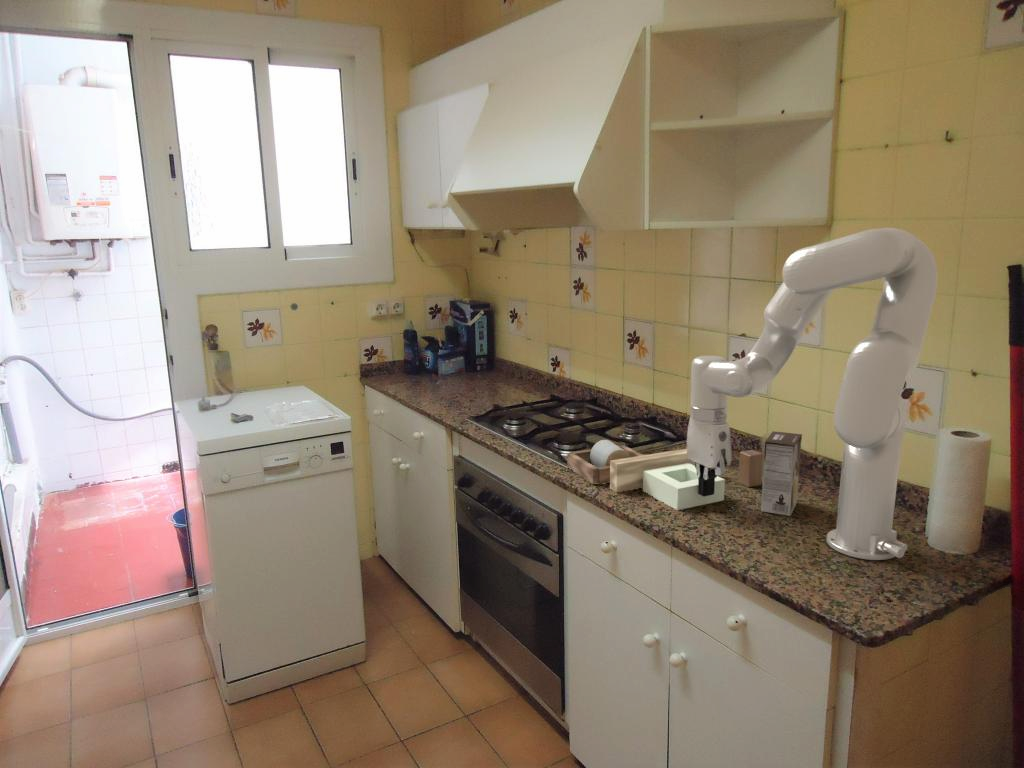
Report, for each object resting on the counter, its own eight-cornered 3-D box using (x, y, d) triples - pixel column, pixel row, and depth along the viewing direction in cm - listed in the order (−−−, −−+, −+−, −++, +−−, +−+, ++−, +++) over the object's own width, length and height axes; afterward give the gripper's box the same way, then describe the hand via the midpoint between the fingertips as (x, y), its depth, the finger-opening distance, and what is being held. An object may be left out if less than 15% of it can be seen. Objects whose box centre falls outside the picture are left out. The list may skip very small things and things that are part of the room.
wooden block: (737, 482, 172) (739, 451, 171) (750, 480, 174) (752, 449, 172) (748, 488, 169) (750, 455, 167) (762, 485, 170) (764, 453, 169)
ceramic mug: (606, 479, 176) (607, 449, 174) (589, 469, 183) (589, 441, 182) (641, 473, 180) (643, 444, 179) (623, 464, 188) (624, 436, 186)
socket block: (723, 500, 162) (724, 479, 161) (677, 510, 156) (678, 488, 155) (687, 482, 173) (688, 462, 172) (642, 491, 168) (643, 471, 167)
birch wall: (707, 476, 177) (708, 449, 175) (616, 492, 167) (616, 464, 165) (699, 473, 179) (700, 446, 178) (609, 488, 170) (610, 460, 168)
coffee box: (767, 497, 163) (772, 430, 159) (797, 502, 160) (802, 433, 156) (760, 511, 155) (764, 440, 151) (791, 517, 152) (796, 444, 148)
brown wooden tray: (654, 475, 178) (654, 460, 177) (594, 486, 171) (594, 470, 171) (622, 458, 191) (622, 444, 191) (566, 467, 185) (566, 452, 184)
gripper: (746, 419, 148) (743, 502, 151) (700, 404, 161) (698, 481, 165) (717, 423, 145) (714, 508, 149) (673, 408, 158) (671, 486, 162)
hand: (706, 494), depth 157 cm, fingers closed
